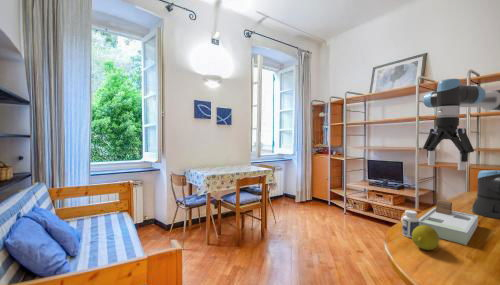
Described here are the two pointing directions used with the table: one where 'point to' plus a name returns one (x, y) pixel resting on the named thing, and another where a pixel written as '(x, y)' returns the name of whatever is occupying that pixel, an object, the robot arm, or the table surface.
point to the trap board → (451, 225)
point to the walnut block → (444, 207)
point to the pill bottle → (409, 223)
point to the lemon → (425, 237)
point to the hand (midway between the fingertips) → (445, 167)
